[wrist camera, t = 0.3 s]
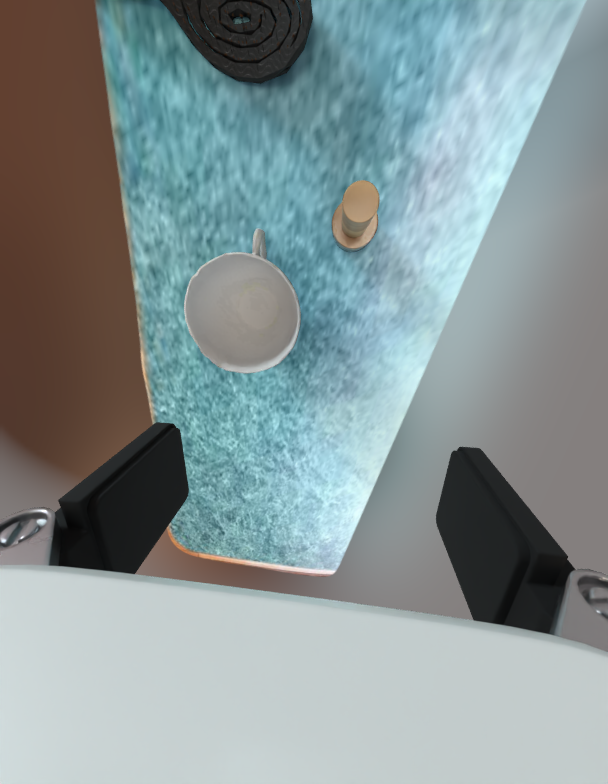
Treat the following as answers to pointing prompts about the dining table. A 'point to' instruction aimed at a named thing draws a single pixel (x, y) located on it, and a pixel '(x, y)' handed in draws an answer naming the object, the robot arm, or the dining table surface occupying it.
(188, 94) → the dining table surface
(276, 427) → the dining table surface
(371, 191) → the dish brush
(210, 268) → the teacup
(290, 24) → the hairbrush
